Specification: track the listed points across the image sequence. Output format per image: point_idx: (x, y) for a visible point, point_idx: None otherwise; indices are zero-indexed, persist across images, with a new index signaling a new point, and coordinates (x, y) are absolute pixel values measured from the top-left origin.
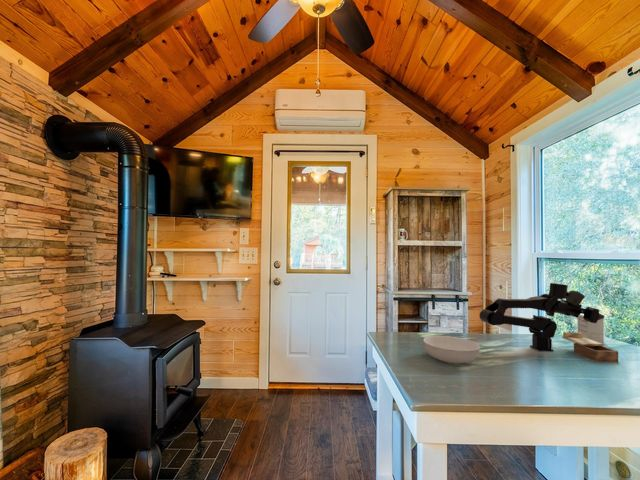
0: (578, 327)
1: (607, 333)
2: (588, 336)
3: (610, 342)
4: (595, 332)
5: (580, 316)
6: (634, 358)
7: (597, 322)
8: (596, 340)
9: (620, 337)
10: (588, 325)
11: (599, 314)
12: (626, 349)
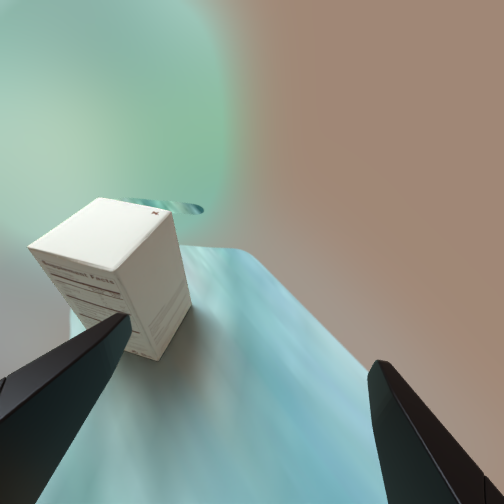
0: (76, 308)
1: (128, 199)
2: (151, 343)
3: (191, 271)
4: (167, 302)
5: (59, 264)
6: None
7: (161, 256)
8: (176, 322)
9: (168, 206)
10: (135, 306)
11: (484, 494)
12: (273, 302)
